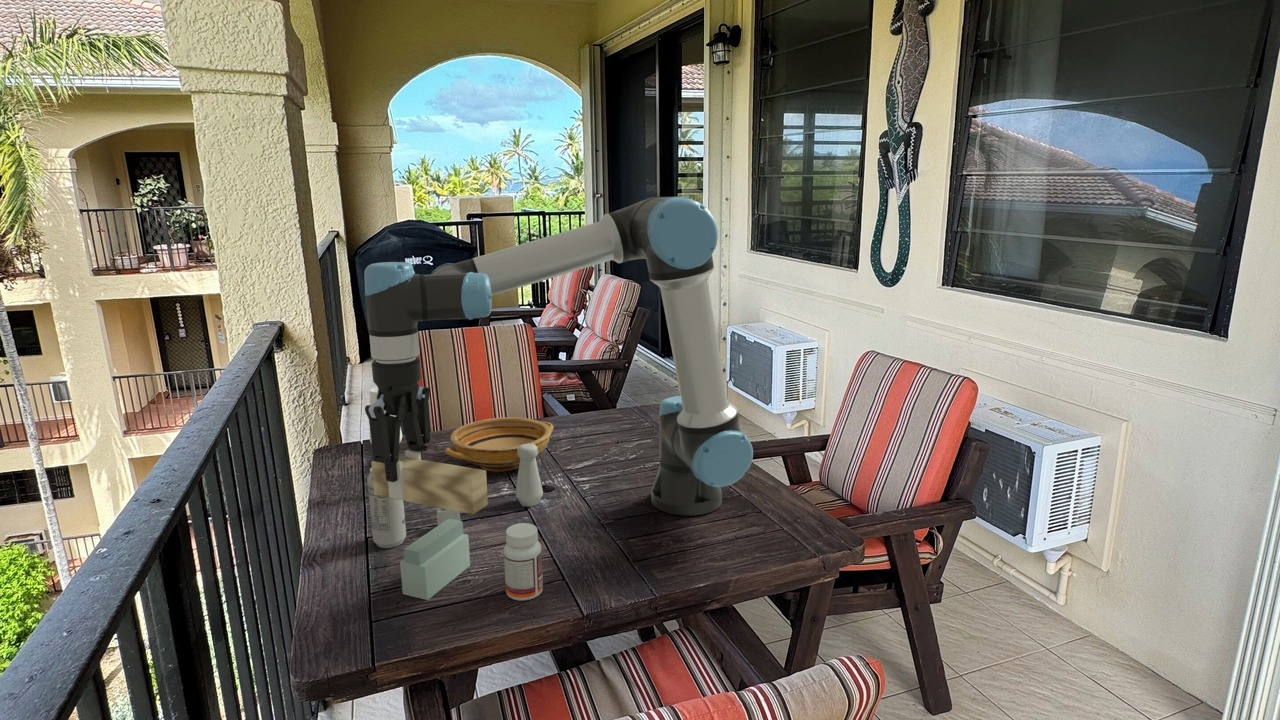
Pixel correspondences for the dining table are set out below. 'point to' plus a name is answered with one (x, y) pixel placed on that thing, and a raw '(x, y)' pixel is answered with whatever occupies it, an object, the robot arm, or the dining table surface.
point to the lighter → (447, 515)
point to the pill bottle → (523, 562)
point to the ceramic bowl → (498, 441)
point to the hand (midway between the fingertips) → (406, 492)
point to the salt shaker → (528, 476)
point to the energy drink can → (386, 518)
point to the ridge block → (435, 560)
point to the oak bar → (437, 484)
